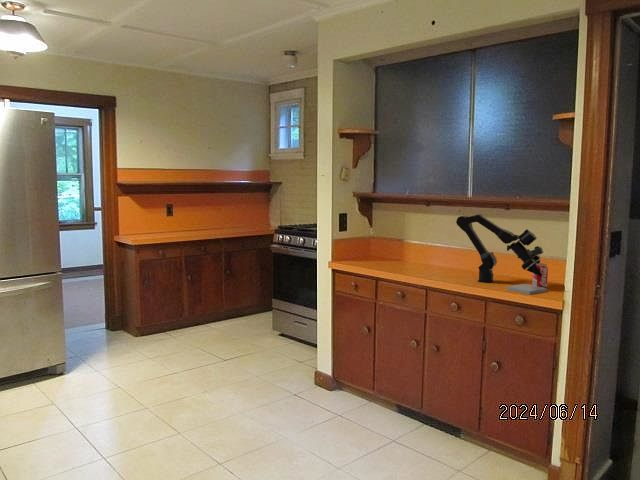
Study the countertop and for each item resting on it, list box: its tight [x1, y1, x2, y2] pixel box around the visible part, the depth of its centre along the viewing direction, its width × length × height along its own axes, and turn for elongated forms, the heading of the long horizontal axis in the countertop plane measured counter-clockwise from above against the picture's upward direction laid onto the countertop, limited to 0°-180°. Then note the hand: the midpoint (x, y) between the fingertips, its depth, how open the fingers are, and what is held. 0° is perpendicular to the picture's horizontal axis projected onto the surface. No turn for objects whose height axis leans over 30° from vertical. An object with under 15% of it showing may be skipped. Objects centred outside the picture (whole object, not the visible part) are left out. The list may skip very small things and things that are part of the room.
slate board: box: [506, 283, 548, 295], centre depth 260 cm, size 13×13×2 cm
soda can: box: [531, 262, 549, 288], centre depth 267 cm, size 7×7×12 cm
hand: (543, 274), depth 266 cm, fingers closed on soda can, 7 cm apart
